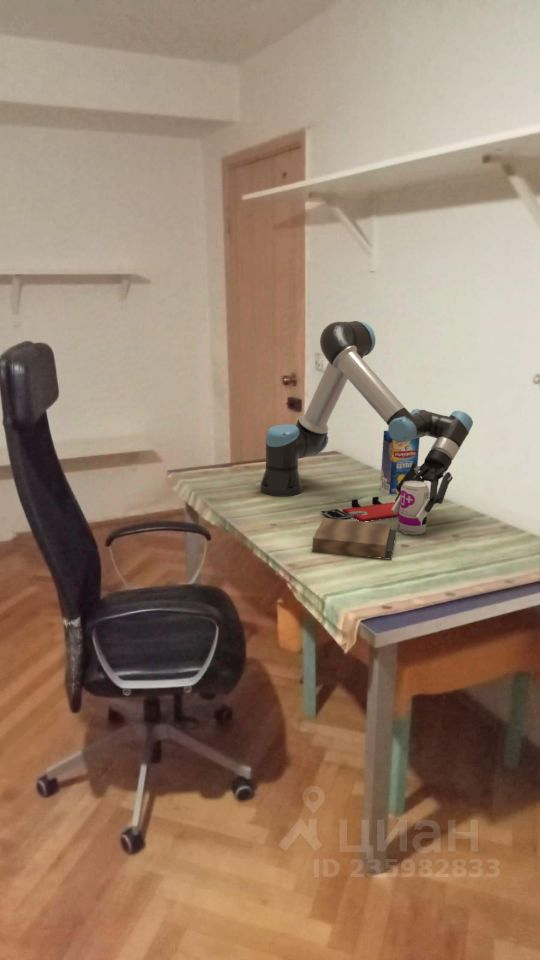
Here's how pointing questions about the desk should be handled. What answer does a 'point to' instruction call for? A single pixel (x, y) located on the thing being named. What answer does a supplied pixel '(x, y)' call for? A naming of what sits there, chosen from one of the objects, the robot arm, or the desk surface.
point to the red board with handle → (364, 511)
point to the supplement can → (412, 507)
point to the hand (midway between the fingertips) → (406, 515)
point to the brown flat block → (354, 538)
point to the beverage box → (397, 461)
